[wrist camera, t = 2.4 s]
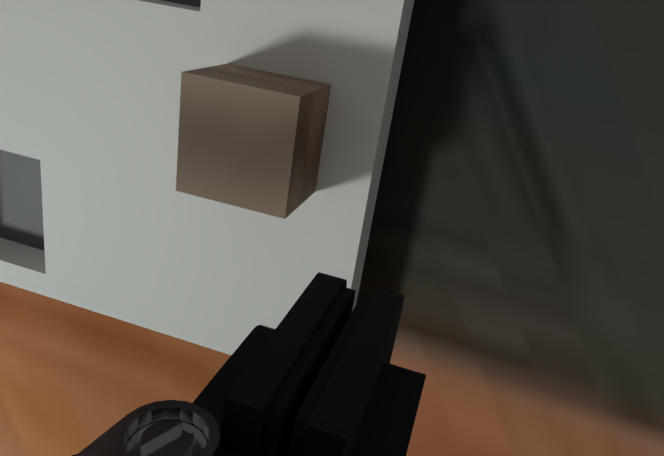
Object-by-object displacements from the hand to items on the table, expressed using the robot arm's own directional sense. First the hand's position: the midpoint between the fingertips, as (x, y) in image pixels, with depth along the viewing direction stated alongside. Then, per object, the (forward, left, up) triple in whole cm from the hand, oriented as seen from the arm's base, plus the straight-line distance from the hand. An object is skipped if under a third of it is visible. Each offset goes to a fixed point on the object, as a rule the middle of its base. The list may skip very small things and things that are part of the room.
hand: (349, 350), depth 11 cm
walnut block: (0, +8, -16) cm, 18 cm away
